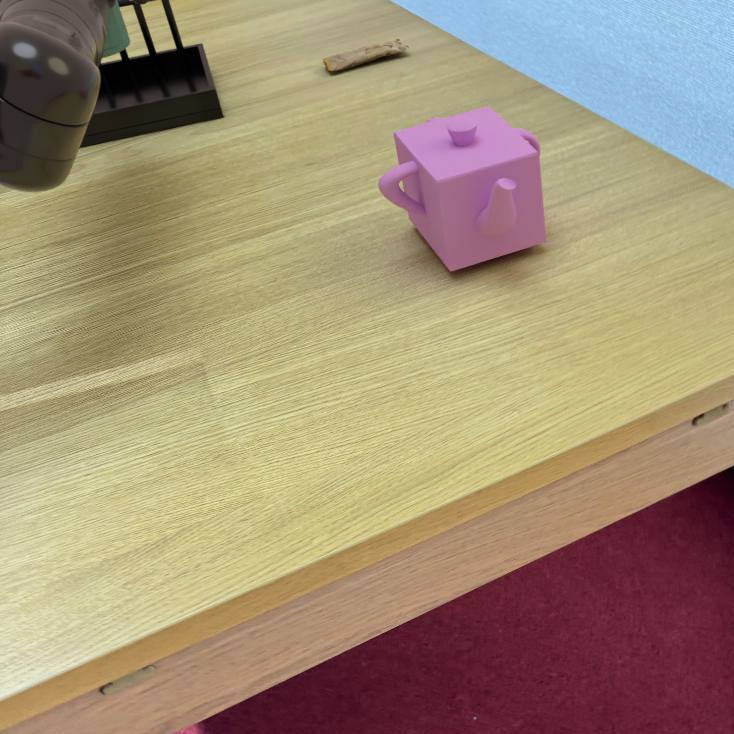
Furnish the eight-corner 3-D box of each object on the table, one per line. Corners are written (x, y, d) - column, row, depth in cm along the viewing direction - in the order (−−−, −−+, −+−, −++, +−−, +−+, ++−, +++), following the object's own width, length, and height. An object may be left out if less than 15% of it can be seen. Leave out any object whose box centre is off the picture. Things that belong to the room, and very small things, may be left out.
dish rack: (59, 151, 108) (20, 58, 101) (59, 100, 118) (23, 12, 111) (223, 117, 111) (196, 24, 104) (210, 69, 121) (184, -19, 114)
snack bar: (329, 70, 116) (319, 52, 117) (330, 81, 117) (321, 63, 118) (409, 47, 118) (399, 30, 119) (410, 58, 119) (400, 41, 121)
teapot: (595, 270, 85) (590, 149, 77) (435, 321, 81) (413, 200, 74) (507, 180, 96) (495, 67, 89) (364, 221, 93) (339, 108, 86)
